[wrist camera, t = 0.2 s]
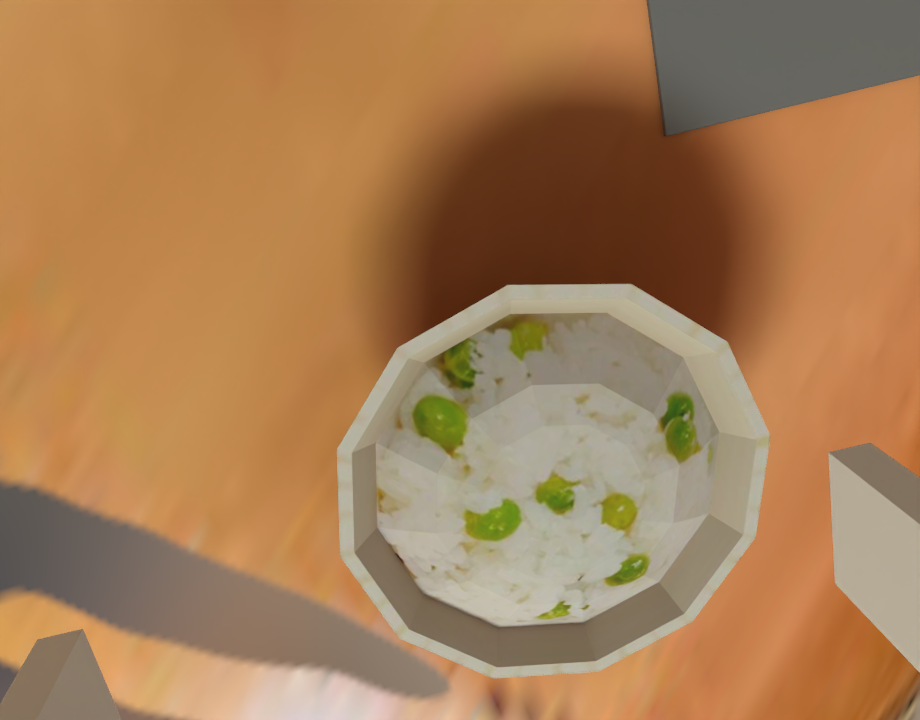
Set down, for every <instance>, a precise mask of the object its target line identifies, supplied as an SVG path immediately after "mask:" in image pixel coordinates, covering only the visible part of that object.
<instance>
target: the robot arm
mask: <svg viewBox="0 0 920 720" xmlns="http://www.w3.org/2000/svg"><path fill="white" fill-rule="evenodd" d="M829 472H830V492H831V512H832V532H833V552H834V572H835V584H836V585H837V586H838V587H839V588H840V589H841V590H842V591H843V592H844V593H845V594H846V596H847V597H848V598H849V599H850V600H851V601H852V602H853V603H854V604H855V605H856V606H857V607H858V608H859V609H860V610H861V611H862V612H863V613H864V614H865V616H866V617H867V618H868V619H869V620H870V621H871V622H872V623H873V624H874V625H875V626H876V627H877V628H878V629H879V630H880V631H881V632H882V633H883V634H884V636H885V637H886V638H887V639H888V640H889V641H890V642H891V643H892V644H893V645H894V646H895V647H896V648H897V649H898V650H899V651H900V652H901V653H902V654H903V655H904V657H905V658H906V659H907V660H908V661H909V662H910V663H911V664H912V665H913V666H914V667H915V668H916V669H917V670H918V671H919V672H920V477H918V476H917V475H915V474H914V473H913V472H911V471H910V470H908V469H907V468H905V467H904V466H903V465H901V464H900V463H898V462H897V461H895V460H894V459H893V458H891V457H890V456H888V455H887V454H886V453H884V452H883V451H881V450H880V449H878V448H877V447H876V446H874V445H873V444H871V443H867V444H863V445H858V446H854V447H850V448H846V449H841V450H837V451H833V452H829ZM0 720H121V717H120V715H119V713H118V710H117V708H116V706H115V703H114V701H113V699H112V696H111V694H110V691H109V689H108V687H107V684H106V682H105V680H104V677H103V675H102V673H101V670H100V668H99V666H98V663H97V661H96V659H95V656H94V654H93V652H92V649H91V647H90V645H89V642H88V640H87V638H86V635H85V633H84V631H83V629H81V630H76V631H72V632H68V633H64V634H60V635H55V636H51V637H47V638H43V639H38V640H37V641H36V643H35V645H34V646H33V648H32V650H31V652H30V653H29V655H28V657H27V659H26V660H25V662H24V664H23V665H22V667H21V669H20V671H19V672H18V674H17V676H16V678H15V679H14V681H13V683H12V684H11V686H10V688H9V690H8V692H7V693H6V695H5V697H4V698H3V700H2V702H1V703H0Z"/></svg>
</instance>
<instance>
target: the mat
mask: <svg viewBox="0 0 920 720" xmlns="http://www.w3.org/2000/svg"><path fill="white" fill-rule="evenodd" d="M647 6H648V13H649V21H650V29H651V36H652V44H653V51H654V59H655V66H656V74H657V82H658V89H659V97H660V104H661V112H662V119H663V127H664V135H665V136H669V135H674V134H678V133H682V132H686V131H690V130H694V129H698V128H703V127H707V126H711V125H715V124H719V123H723V122H727V121H732V120H736V119H740V118H744V117H748V116H752V115H756V114H761V113H765V112H769V111H773V110H777V109H781V108H785V107H790V106H794V105H798V104H802V103H806V102H810V101H814V100H819V99H823V98H827V97H831V96H835V95H839V94H843V93H848V92H852V91H856V90H860V89H864V88H868V87H872V86H877V85H881V84H885V83H889V82H893V81H897V80H901V79H906V78H910V77H914V76H918V75H920V0H647Z"/></svg>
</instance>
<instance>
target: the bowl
mask: <svg viewBox="0 0 920 720" xmlns="http://www.w3.org/2000/svg"><path fill="white" fill-rule="evenodd" d="M769 443H770V434H769V432H768V429H767V427H766V425H765V423H764V421H763V418H762V416H761V414H760V412H759V410H758V408H757V405H756V403H755V401H754V399H753V397H752V394H751V392H750V390H749V388H748V386H747V383H746V381H745V379H744V377H743V375H742V372H741V370H740V368H739V366H738V364H737V362H736V359H735V357H734V355H733V353H732V351H731V348H730V346H729V344H728V342H727V341H725V340H724V339H722V338H720V337H719V336H717V335H715V334H714V333H712V332H710V331H709V330H707V329H705V328H704V327H702V326H700V325H699V324H697V323H695V322H694V321H692V320H690V319H689V318H687V317H685V316H684V315H682V314H680V313H679V312H677V311H676V310H674V309H672V308H671V307H669V306H667V305H666V304H664V303H662V302H661V301H659V300H657V299H656V298H654V297H652V296H651V295H649V294H647V293H646V292H644V291H642V290H641V289H639V288H637V287H636V286H634V285H632V284H560V285H507V286H505V287H503V288H502V289H500V290H498V291H496V292H495V293H493V294H491V295H489V296H487V297H486V298H484V299H482V300H480V301H479V302H477V303H475V304H473V305H472V306H470V307H468V308H466V309H465V310H463V311H461V312H459V313H458V314H456V315H454V316H452V317H451V318H449V319H447V320H445V321H444V322H442V323H440V324H438V325H437V326H435V327H433V328H431V329H429V330H428V331H426V332H424V333H422V334H421V335H419V336H417V337H415V338H414V339H412V340H410V341H408V342H407V343H405V344H403V345H401V346H400V347H398V348H397V349H396V351H395V353H394V354H393V356H392V358H391V359H390V361H389V363H388V365H387V366H386V368H385V370H384V371H383V373H382V375H381V376H380V378H379V380H378V381H377V383H376V385H375V386H374V388H373V390H372V391H371V393H370V395H369V397H368V398H367V400H366V402H365V403H364V405H363V407H362V408H361V410H360V412H359V413H358V415H357V417H356V418H355V420H354V422H353V423H352V425H351V427H350V429H349V430H348V432H347V434H346V435H345V437H344V439H343V440H342V442H341V444H340V445H339V447H338V449H337V470H338V501H339V532H340V557H341V558H342V560H343V561H344V562H345V564H346V565H347V567H348V568H349V569H350V571H351V572H352V574H353V575H354V576H355V578H356V579H357V580H358V582H359V583H360V585H361V586H362V587H363V589H364V590H365V592H366V593H367V594H368V596H369V597H370V598H371V600H372V601H373V603H374V604H375V605H376V607H377V608H378V610H379V611H380V612H381V614H382V615H383V616H384V618H385V619H386V621H387V622H388V623H389V625H390V626H391V628H392V629H393V630H394V632H395V633H396V634H397V636H398V637H399V638H400V639H402V640H404V641H407V642H409V643H411V644H414V645H416V646H418V647H421V648H423V649H425V650H428V651H430V652H432V653H435V654H437V655H439V656H442V657H444V658H446V659H449V660H451V661H454V662H456V663H458V664H461V665H463V666H465V667H468V668H470V669H472V670H475V671H477V672H479V673H482V674H484V675H486V676H489V677H491V678H507V677H523V676H538V675H554V674H569V673H585V672H599V671H600V670H602V669H604V668H606V667H608V666H610V665H612V664H614V663H615V662H617V661H619V660H621V659H623V658H625V657H627V656H628V655H630V654H632V653H634V652H636V651H638V650H640V649H642V648H643V647H645V646H647V645H649V644H651V643H653V642H655V641H657V640H658V639H660V638H662V637H664V636H666V635H668V634H670V633H672V632H673V631H675V630H677V629H679V628H681V627H683V626H685V625H687V624H688V623H690V622H692V621H693V620H694V619H695V617H696V616H697V615H698V613H699V612H700V611H701V609H702V608H703V607H704V605H705V604H706V603H707V601H708V600H709V599H710V597H711V596H712V595H713V593H714V592H715V591H716V589H717V588H718V587H719V585H720V584H721V583H722V581H723V580H724V579H725V577H726V576H727V575H728V573H729V572H730V571H731V569H732V568H733V567H734V565H735V564H736V563H737V561H738V560H739V559H740V557H741V556H742V555H743V553H744V552H745V551H746V549H747V548H748V547H749V545H750V544H751V543H752V541H753V540H754V539H755V537H756V530H757V524H758V517H759V510H760V504H761V497H762V490H763V483H764V477H765V470H766V463H767V457H768V450H769Z"/></svg>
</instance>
